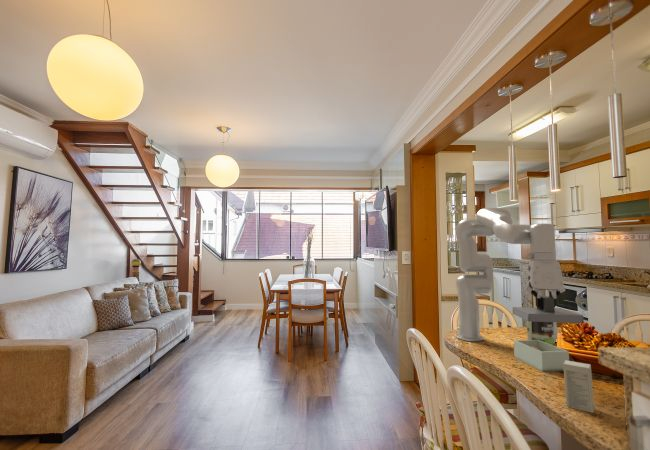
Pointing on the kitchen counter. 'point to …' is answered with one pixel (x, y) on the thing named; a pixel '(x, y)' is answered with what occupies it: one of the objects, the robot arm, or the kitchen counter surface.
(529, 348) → the box
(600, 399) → the kitchen counter surface
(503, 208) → the robot arm
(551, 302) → the lid
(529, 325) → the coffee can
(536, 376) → the kitchen counter surface
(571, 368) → the skincare box
